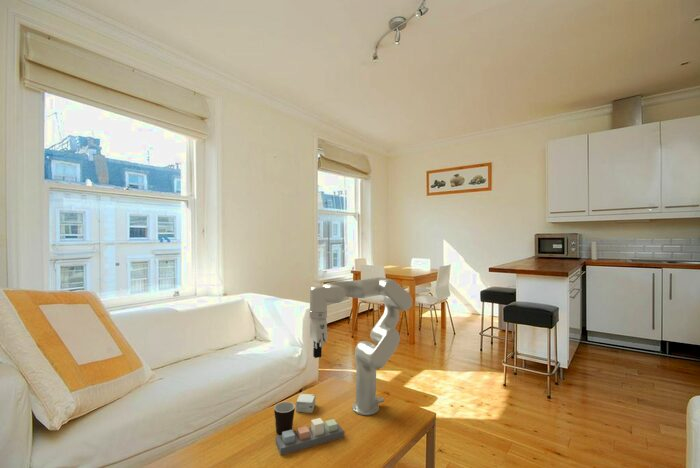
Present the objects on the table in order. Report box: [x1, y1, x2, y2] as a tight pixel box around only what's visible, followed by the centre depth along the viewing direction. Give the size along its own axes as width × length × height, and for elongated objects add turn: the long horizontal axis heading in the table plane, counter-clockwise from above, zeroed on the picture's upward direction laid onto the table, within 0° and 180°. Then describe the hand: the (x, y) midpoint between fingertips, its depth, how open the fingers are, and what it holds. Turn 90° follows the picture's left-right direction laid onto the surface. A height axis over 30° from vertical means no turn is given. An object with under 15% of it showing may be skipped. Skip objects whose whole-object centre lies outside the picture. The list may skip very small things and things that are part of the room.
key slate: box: [282, 429, 295, 445], centre depth 125 cm, size 4×4×4 cm
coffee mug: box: [273, 401, 296, 436], centre depth 136 cm, size 12×9×10 cm
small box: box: [295, 393, 316, 414], centre depth 153 cm, size 8×8×5 cm
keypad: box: [275, 421, 345, 456], centre depth 129 cm, size 26×8×2 cm, turn 117°
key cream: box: [310, 417, 325, 436], centre depth 130 cm, size 4×4×4 cm
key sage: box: [324, 418, 339, 433], centre depth 133 cm, size 4×4×4 cm
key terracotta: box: [296, 425, 310, 440], centre depth 127 cm, size 4×4×4 cm
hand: (317, 356), depth 140 cm, fingers closed
